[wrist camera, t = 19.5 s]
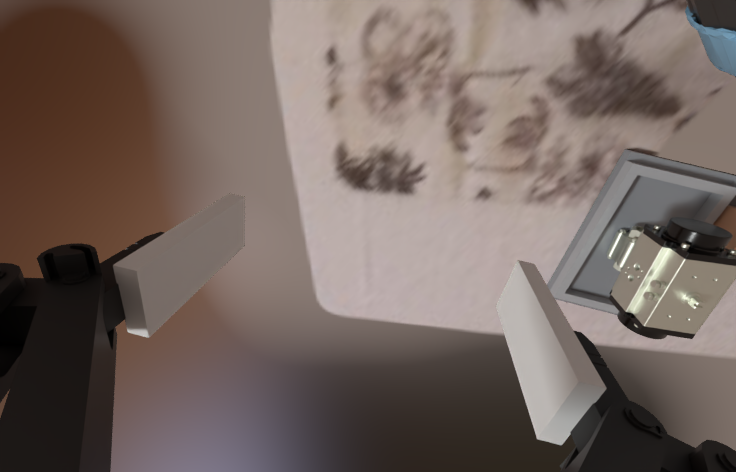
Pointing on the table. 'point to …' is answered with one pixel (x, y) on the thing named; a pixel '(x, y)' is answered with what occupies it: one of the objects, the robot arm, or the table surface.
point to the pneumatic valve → (670, 276)
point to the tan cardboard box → (728, 224)
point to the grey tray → (635, 219)
